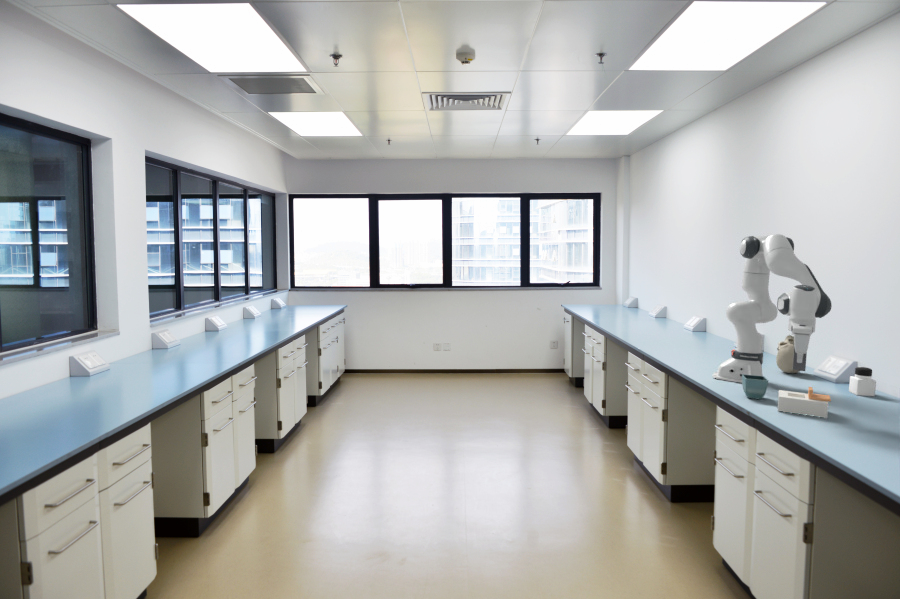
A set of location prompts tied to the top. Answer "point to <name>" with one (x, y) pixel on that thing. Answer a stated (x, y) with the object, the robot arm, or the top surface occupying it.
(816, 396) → the shutter
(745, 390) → the flower pot
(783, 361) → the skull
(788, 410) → the socket
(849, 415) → the top surface
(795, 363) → the plug
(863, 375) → the medicine bottle
